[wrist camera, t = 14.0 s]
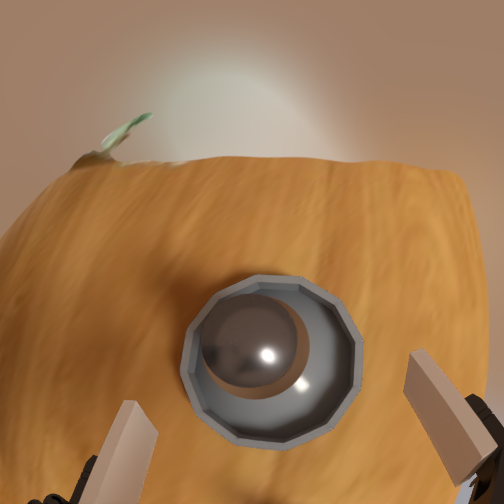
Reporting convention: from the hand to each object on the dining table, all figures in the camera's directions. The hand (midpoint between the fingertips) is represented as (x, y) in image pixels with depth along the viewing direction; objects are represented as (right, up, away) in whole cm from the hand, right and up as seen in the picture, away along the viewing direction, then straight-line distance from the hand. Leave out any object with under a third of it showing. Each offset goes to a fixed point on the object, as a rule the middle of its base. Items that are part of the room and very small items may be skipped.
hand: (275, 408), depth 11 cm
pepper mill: (+1, -3, +11) cm, 12 cm away
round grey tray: (+1, -3, +12) cm, 12 cm away
